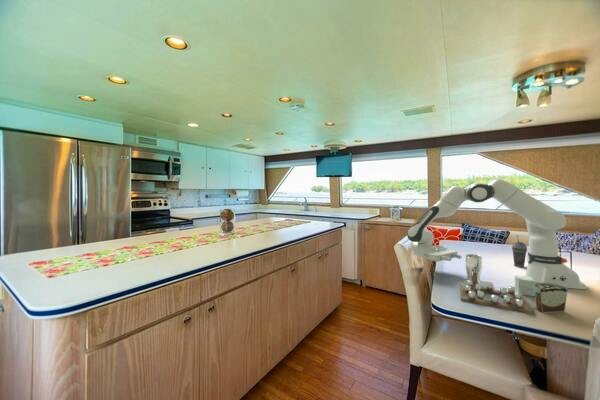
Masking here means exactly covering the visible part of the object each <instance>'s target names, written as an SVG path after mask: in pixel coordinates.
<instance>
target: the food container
mask: <svg viewBox="0 0 600 400" xmlns="http://www.w3.org/2000/svg"><path fill="white" fill-rule="evenodd" d="M533 290H534V291H535V296H534V297H535V305H536V309H537V311H538V312H540V313H543V314H545V313H546V314H548V313H565V312H566V304H567V297H568V296H567V294H568V293H569V288H567V287H565V286H561V285H557V284H551V283H537V282H536V283H535V285H534V286H533Z"/></svg>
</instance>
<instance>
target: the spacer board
mask: <svg viewBox="0 0 600 400" xmlns="http://www.w3.org/2000/svg"><path fill="white" fill-rule="evenodd" d="M459 290H460V292H459V293H460V301H462V302H465V303H473V304H475V305H476V304H477V305H481V306H482V305H483V306H487V307H492V308H499V309H504V310H508V311H515V312H519V313H526V314H530V315H534V310H533V308H532V306H530V304H529V302H528V300H527V299H526V297H525V295H522V300H523V309H520V308H517V307H515V295H511V294H509V293H508V291H507V295H509V296H511V304H506V303H504V302H501V301H500V302H499V301H498V304H493V303H491V300H489V299H484V300H483V299H478V298H477V293H476V292H475V290H476V287H473V288H471V291H473V292H475V300H471V299H469V293H466V292H465V285H463V284H459ZM482 291H483V292H484V294H490V295H497V296H500V290H497V289H495V290H493V291H488V290H487V289H486V288H482Z"/></svg>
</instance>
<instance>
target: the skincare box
mask: <svg viewBox="0 0 600 400" xmlns="http://www.w3.org/2000/svg"><path fill="white" fill-rule="evenodd" d="M535 283H537V282H536V281H535V280H533V279H532V278H531V277H526V276H525V275H514V287H515V292H516V293H521V294H522V295H523V296H529V297H536V296H535V291H534V290H533V286H534V285H535Z"/></svg>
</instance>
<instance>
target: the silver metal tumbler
mask: <svg viewBox="0 0 600 400" xmlns="http://www.w3.org/2000/svg"><path fill="white" fill-rule="evenodd" d="M482 260H483V259H482V256H481V255H479V254H474V253H468V254H466V255H465V263H464V264H465V270H466V275H467V277H466V279H467V280H471V281H473V286H475V287H476V284H481V283H480V281H481V274H482V269H483V261H482ZM466 283H467V282H466Z"/></svg>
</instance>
